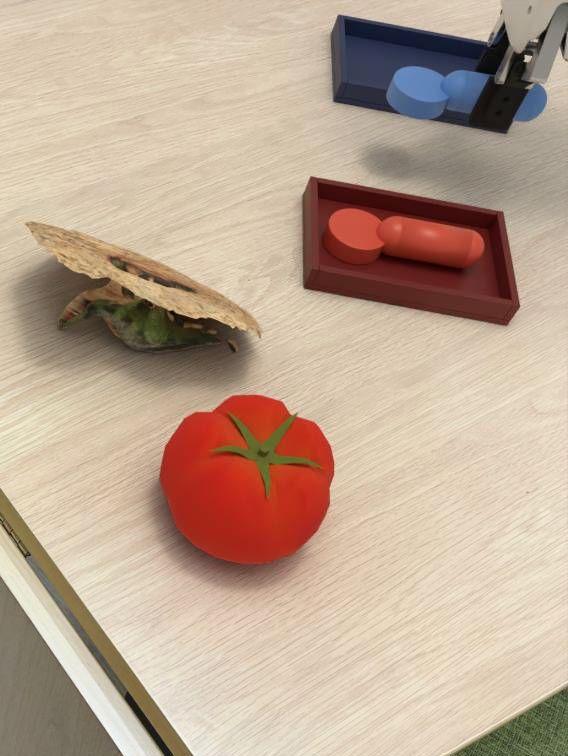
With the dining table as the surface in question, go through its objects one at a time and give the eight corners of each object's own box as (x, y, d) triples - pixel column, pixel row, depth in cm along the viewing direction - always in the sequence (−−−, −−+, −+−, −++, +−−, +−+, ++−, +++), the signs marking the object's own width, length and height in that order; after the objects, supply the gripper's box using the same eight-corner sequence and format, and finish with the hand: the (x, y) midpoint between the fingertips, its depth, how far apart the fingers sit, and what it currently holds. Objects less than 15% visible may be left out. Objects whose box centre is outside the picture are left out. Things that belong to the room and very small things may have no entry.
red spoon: (470, 246, 81) (488, 217, 79) (476, 287, 79) (495, 258, 76) (321, 219, 81) (334, 188, 79) (322, 259, 79) (336, 228, 76)
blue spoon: (531, 104, 83) (550, 70, 81) (539, 139, 80) (558, 105, 78) (384, 79, 83) (398, 45, 81) (387, 114, 81) (402, 80, 78)
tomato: (181, 596, 61) (213, 530, 55) (131, 454, 67) (155, 380, 60) (338, 570, 63) (386, 504, 57) (277, 436, 69) (314, 362, 63)
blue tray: (492, 64, 97) (503, 44, 96) (506, 133, 91) (517, 114, 90) (330, 33, 97) (338, 13, 95) (333, 101, 91) (341, 81, 89)
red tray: (491, 230, 84) (503, 211, 82) (507, 325, 77) (520, 306, 76) (302, 195, 83) (310, 175, 82) (303, 288, 77) (312, 268, 76)
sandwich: (175, 326, 82) (225, 245, 78) (230, 432, 72) (291, 346, 68) (-23, 256, 75) (21, 162, 71) (8, 363, 65) (60, 262, 60)
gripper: (696, -65, 62) (542, 183, 77) (645, -180, 71) (516, 63, 86) (576, -84, 62) (447, 167, 77) (541, -197, 71) (431, 48, 86)
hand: (484, 110), depth 82 cm, fingers closed on blue spoon, 3 cm apart
